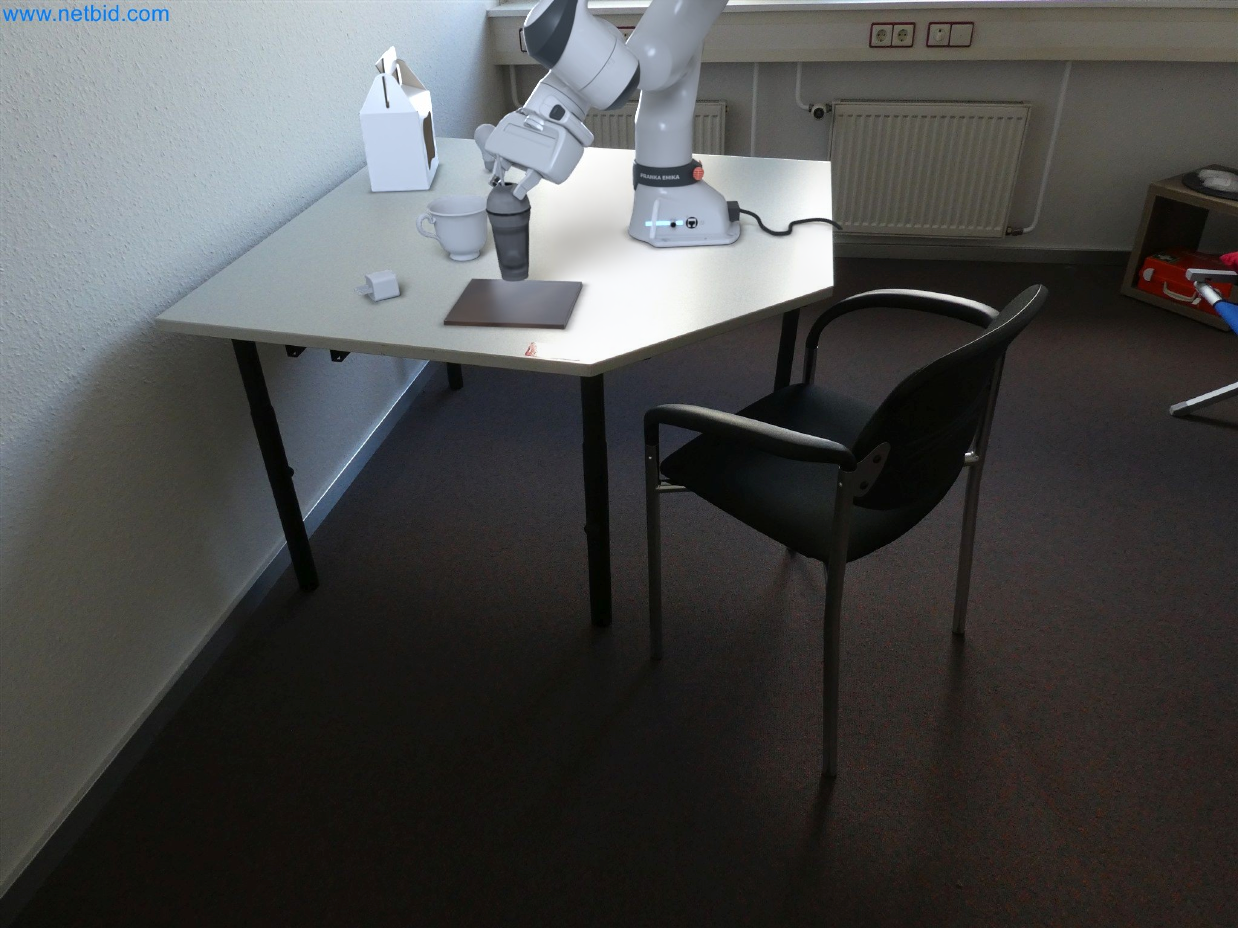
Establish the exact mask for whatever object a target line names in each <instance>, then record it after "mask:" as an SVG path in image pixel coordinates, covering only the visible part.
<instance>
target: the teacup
mask: <svg viewBox="0 0 1238 928" xmlns="http://www.w3.org/2000/svg"><path fill="white" fill-rule="evenodd" d="M487 198H488V197H487ZM487 198H486V197H485V196H482V195H478V194H453V195H452V194H451V195H445V196H442V197H438V198H435V199H433V200H431V201H430V202H428V203H427V205H426V206H425V210H426V212H421V213H419V214H418V215H417V216H416V220H415V226H416V229H417V231H418V233H419V234H420V235H421V236H423V237H425V238H428V239H429V238H430V239H434V240H437V242H438V243H439V245H440V247H441V248H442V249H443V250H444V251H446V252H447V253H449V258H450V259H452V260H453V261H459V262H460V261H461V262H464V261H465V262H466V261H471V260H476V259H477V258H479V256H481V255H480V251H479V250H480V249H482V248H483V247H484V246H485V244H486V242H487V239H488V214H487V212H486V207H487V205H486V204H487ZM427 212H428V213H427ZM424 220H427V221H428V223H429V224H430V225H433V226H434V227H433V228H434V230H435V233H432V232H428V231H426V230H424V229H423V221H424Z"/></svg>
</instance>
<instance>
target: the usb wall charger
mask: <svg viewBox="0 0 1238 928" xmlns="http://www.w3.org/2000/svg"><path fill="white" fill-rule="evenodd" d="M364 279H365V284H362V285H359V286H356V287H353V292H357V295H358V296H364V295H368V297H369V298H370V299H372V300H373V301H374V302H375V303H376V302H380V301H384V300H387V299H392V298H396V297H399V296H400V288H399V283H398V282H399V281H398V277H397V274H395V272H393V271H392V270H391V269H390V268H389V269H384V270H380V271H375V272H372V273H371V272H370V273H366V274H365V275H364Z"/></svg>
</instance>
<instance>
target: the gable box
mask: <svg viewBox="0 0 1238 928" xmlns="http://www.w3.org/2000/svg"><path fill="white" fill-rule="evenodd" d="M395 49H396V48H395V47H394V46H391V47H390V48H389V49H388V50H387V51H385V53H383V55H382V56H381V57H380V58H379V59H378V61H377V62H376V63H375V64H374V66H375V68H376V69H377V71H378V72H379V74H377V75H376V76H375V77H374V80H373V82H372V84H371V85H370V89H369V91H368V93H367V95H366V97H365V100H364V101H363V104H362V107H361V109H360V111H359V112H358V120H359V125H360V131H361V135H362V143H363V149H364V155H365V160H366V166H367V171H368V177H369V183H370V188H371V192H372V193H385V192H386V193H387V192H388V193H389V192H410V191H411V192H413V191H429V190H430V188H431V185H432V183H433V180H434V179H435V175H436V172H437V170H438V167H439V163H440V162H439V155H438V148H437V140H436V132H435V125H434V116H433V108H432V101H431V94H430V90H428V89H427V87H426V86H425V85H424V84H423V82H422V81H421V79H419V78H418V76H417V75H416V74H415V72H414V71H413V70H412V69H411V67H410V66H409V65H408V64H407V63H406V61H404V60H403V59H401V58H397V55H396V50H395Z"/></svg>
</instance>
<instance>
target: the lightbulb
mask: <svg viewBox="0 0 1238 928" xmlns="http://www.w3.org/2000/svg"><path fill="white" fill-rule="evenodd" d="M496 127H497V126H494V125H493V124H490V123H483V124H480V125H479V126H478V127H477V128H476V130H475V131H474V143H475V144H476V146H477V147H478V149H479V150H480V153H481V156H482V160H483V164H484V169H486V170H487V171H489V172H491V171H492V172H493V168H494V163H495V161H496V159H495V158H493V157H492V156H491V155H490V154H489V153H488V152H486V151H485V143H486V141H487V139H488V138H489V136H490V135H491V133H492V132H493V131H494V129H495V128H496Z"/></svg>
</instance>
